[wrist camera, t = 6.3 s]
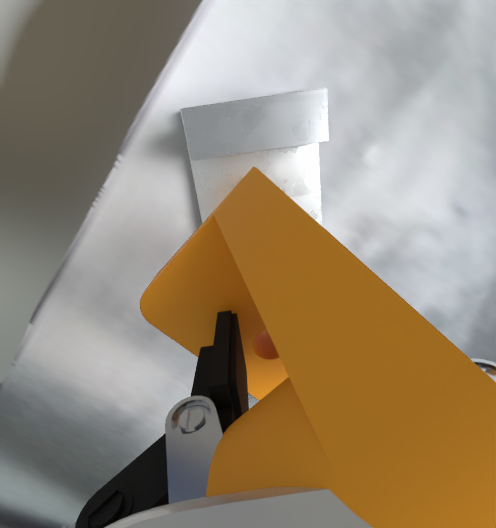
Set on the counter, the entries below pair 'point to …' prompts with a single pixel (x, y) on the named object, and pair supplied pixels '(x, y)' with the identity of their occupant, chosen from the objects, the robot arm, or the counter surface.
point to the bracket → (330, 370)
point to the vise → (258, 146)
